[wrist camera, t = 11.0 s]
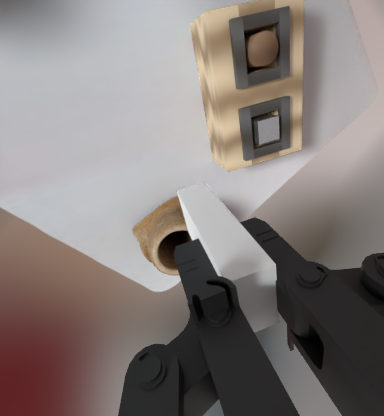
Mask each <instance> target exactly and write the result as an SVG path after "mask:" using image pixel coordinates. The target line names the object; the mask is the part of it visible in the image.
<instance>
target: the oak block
mask: <svg viewBox="0 0 384 416" xmlns="http://www.w3.org/2000/svg"><path fill="white" fill-rule="evenodd" d="M190 28H191V34H192V40H193V46H194V51H195V57H196V63H197V69H198V75H199V80H200V86H201V92H202V98H203V104H204V110H205V115H206V121H207V127H208V133H209V139H210V144H211V150H212V156H213V160H214V161H216V162H217V163H218V164H219V165H221V166H222V167H223V168H224V169H225V170H227V171H228V172H231V171H234V170H237V169H240V168H244V167H247V166H250V165H253V164H257V163H260V162H263V161H266V160H270V159H273V158H276V157H279V156H283V155H286V154H289V153H292V152H296V151H299V150H302V99H303V46H304V0H256V1H252V2H247V3H242V4H238V5H233V6H228V7H224V8H219V9H214V10H210V11H206V12H204V13H203V14H202V15H201V16H200V17H198V18H197V19H196V20H195V21H194V22H192V23H191V24H190ZM262 31H270V32H272V33H274V35H275V36H276V38H277V40H278V52H277V55H276V57H275V59H274V60H273V61H272V62H271V63H270V64H269V65H266V66H259V67H251V70H247V64H246V52H245V40H244V35H246V34H249V36H251V35H254V34H257V33H260V32H262ZM264 113H268V114H273V115H278V116H279V138H280V139H277V140H273V141H270V142H267V143H263V144H260V145H259V144H257V143H254V142H253V137H252V125H251V117H254V116H257V115H261V114H264Z"/></svg>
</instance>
